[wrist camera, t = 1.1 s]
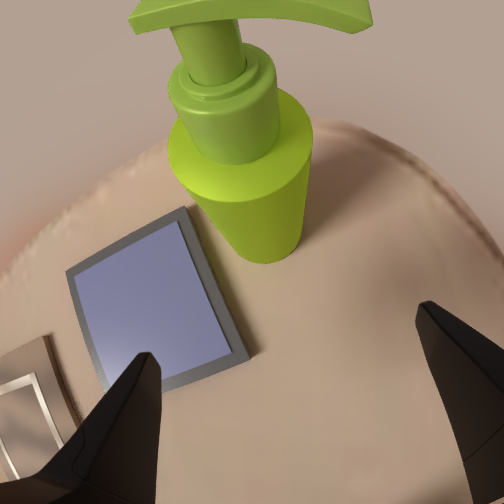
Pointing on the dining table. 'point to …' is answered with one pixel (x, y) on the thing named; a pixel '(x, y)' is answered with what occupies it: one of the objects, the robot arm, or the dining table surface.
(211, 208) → the soap dispenser
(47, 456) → the board
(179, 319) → the ink pad
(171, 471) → the dining table surface
